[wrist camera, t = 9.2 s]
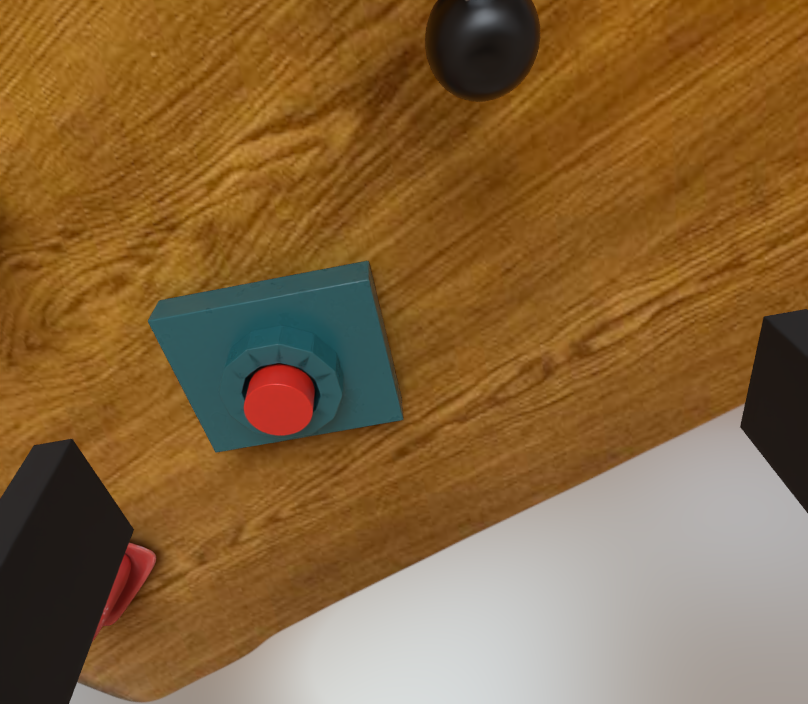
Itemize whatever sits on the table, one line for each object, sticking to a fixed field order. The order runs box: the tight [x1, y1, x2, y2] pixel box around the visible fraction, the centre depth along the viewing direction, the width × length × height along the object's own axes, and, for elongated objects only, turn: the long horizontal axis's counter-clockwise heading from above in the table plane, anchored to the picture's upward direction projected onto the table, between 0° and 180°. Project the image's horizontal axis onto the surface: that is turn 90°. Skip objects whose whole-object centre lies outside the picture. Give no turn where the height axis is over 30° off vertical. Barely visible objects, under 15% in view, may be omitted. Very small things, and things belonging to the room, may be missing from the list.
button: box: [244, 364, 315, 435], centre depth 32 cm, size 4×4×2 cm
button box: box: [148, 261, 403, 452], centre depth 34 cm, size 12×10×4 cm
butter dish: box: [92, 543, 156, 642], centre depth 42 cm, size 12×12×8 cm
